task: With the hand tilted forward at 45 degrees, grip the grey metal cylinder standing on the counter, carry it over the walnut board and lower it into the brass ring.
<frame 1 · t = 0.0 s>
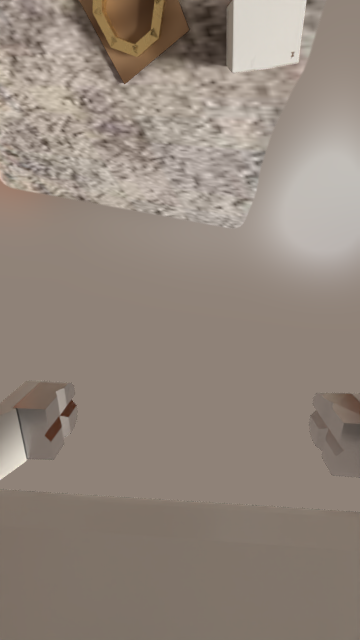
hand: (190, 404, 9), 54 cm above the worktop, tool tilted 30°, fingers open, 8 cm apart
board: (132, 7, 39), on the worktop
small box: (253, 33, 40), on the worktop
ring: (129, 6, 37), on the board, point 2 cm above the worktop
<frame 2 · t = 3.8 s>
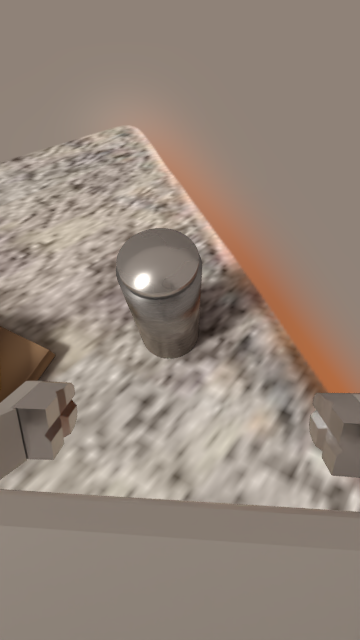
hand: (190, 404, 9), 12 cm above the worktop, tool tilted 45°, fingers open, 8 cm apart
grey metal cylinder: (170, 331, 24), on the worktop
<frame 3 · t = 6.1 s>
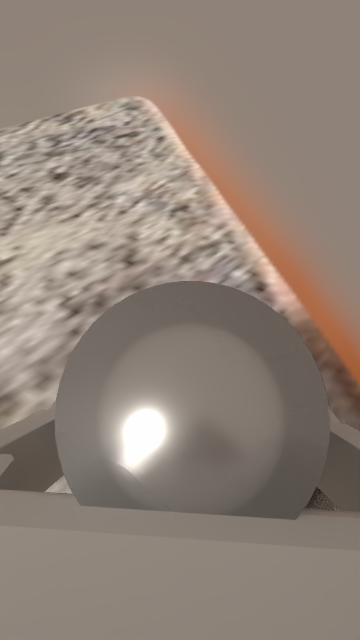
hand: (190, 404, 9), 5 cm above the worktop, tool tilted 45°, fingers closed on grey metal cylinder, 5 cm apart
grey metal cylinder: (190, 435, 13), on the worktop, touching gripper
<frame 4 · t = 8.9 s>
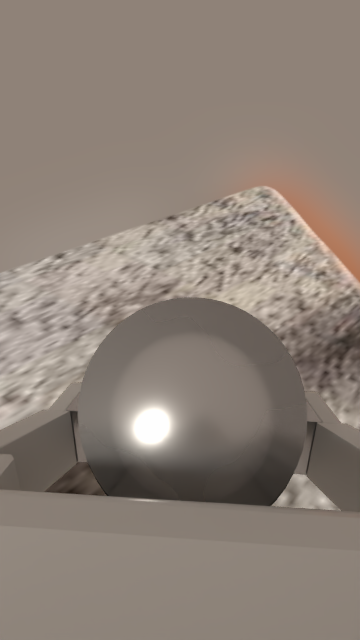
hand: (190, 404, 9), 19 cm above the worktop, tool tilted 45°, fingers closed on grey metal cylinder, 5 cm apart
grey metal cylinder: (191, 432, 14), point 14 cm above the worktop, touching gripper
when the fingers open (8 cm above the worktop, at t = 11.6 s): grey metal cylinder stays where it is, resting on board.
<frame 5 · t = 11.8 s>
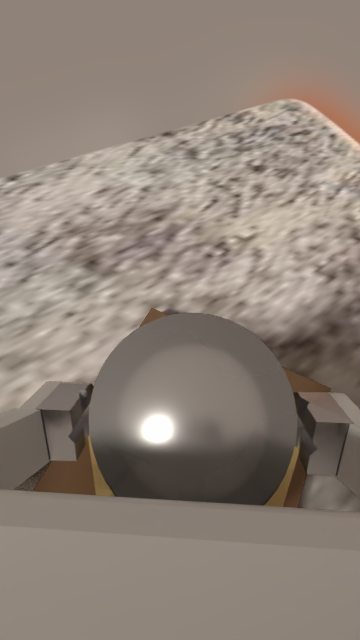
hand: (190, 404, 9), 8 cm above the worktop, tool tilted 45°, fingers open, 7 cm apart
board: (190, 437, 16), on the worktop
ring: (190, 434, 14), on the board, point 2 cm above the worktop
grey metal cylinder: (191, 435, 15), point 1 cm above the worktop, touching board
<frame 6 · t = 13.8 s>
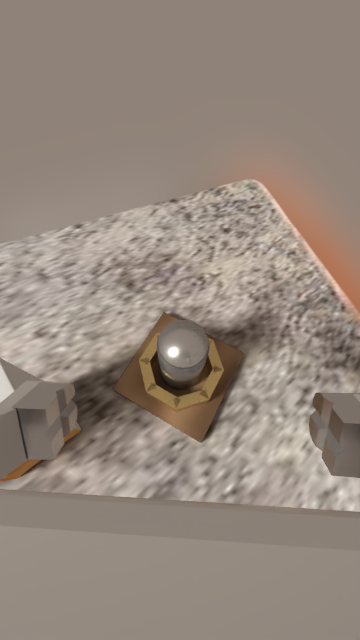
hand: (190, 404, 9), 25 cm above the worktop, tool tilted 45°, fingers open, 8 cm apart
board: (180, 372, 35), on the worktop
small box: (40, 430, 32), on the worktop
ring: (180, 367, 32), on the board, point 2 cm above the worktop
grey metal cylinder: (181, 369, 34), point 1 cm above the worktop, touching board
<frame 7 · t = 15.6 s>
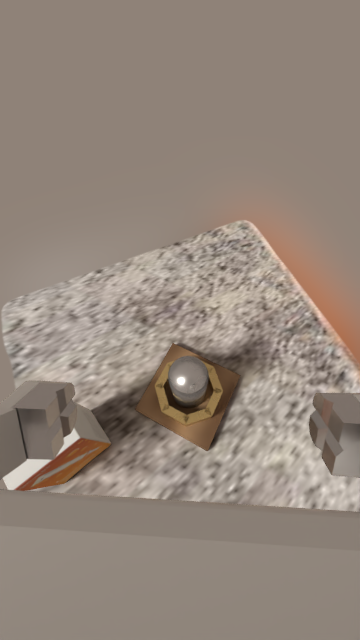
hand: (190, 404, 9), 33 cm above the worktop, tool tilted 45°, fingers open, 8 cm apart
board: (188, 393, 42), on the worktop
small box: (79, 444, 40), on the worktop
ring: (188, 390, 40), on the board, point 2 cm above the worktop
grey metal cylinder: (188, 391, 41), point 1 cm above the worktop, touching board
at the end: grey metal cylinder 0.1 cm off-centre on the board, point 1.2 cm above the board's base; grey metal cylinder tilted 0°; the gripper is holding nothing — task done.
